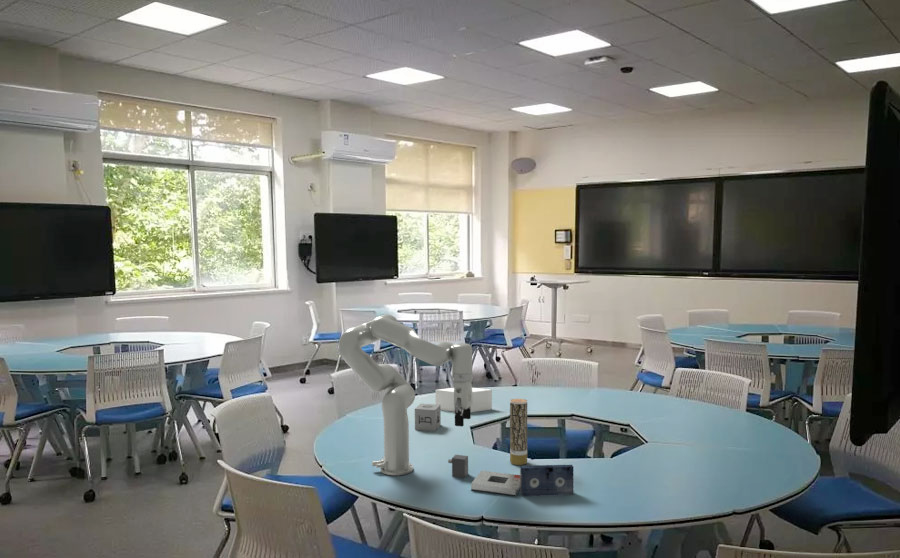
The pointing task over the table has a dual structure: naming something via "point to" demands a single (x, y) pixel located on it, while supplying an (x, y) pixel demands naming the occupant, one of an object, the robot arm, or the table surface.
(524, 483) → the vhs cassette tape
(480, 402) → the block
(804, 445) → the table surface
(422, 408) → the icon cube
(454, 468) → the plug
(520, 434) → the paper tube
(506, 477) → the socket plate
